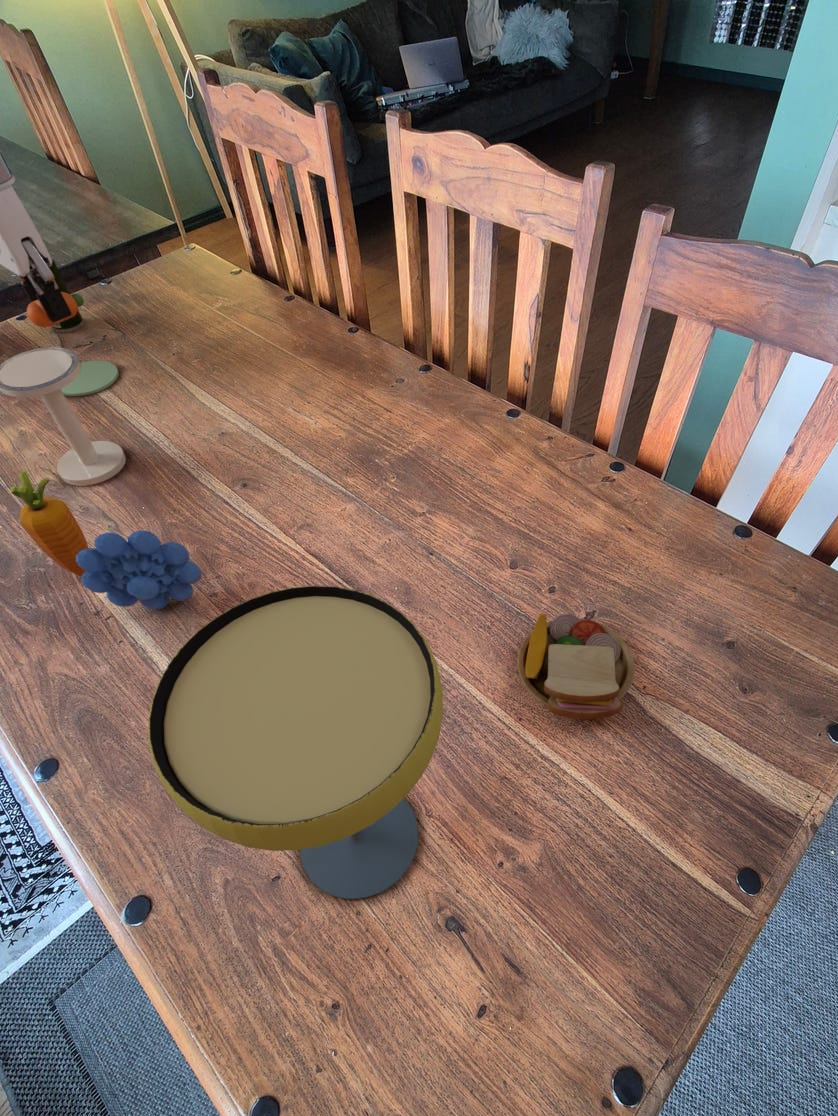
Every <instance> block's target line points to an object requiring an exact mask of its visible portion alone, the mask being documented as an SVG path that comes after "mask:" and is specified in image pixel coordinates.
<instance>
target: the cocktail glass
mask: <svg viewBox="0 0 838 1116" xmlns="http://www.w3.org/2000/svg"><path fill="white" fill-rule="evenodd" d="M443 695H444V694H443V685H442V680H441V676H440V671H439V667H438V663H437V660H436V659H435V656H434V654H433V651H432V650H431V647H430V645H429V643H428V641H427V639H426V638H425V636H424V635H423V634H422V632H421V631H420V629H419V628H418V627H417V626H416V624H415V623H414V622H413V621H411V620H410V618H408V617H407V616H406V615H405V614H404V613H403V612H402V611H401V610H399V609H397V608H396V607H395V606H393V605H392V604H390V603H389V602H387V601H385V600H383V599H380V598H379V597H376V596H374V595H372V594H369V593H366V592H363V591H360V590H357V589H354V588H347V587H342V586H335V585H334V586H333V585H305V586H296V587H289V588H284V589H279V590H273V591H270V592H267V593H265V594H261V595H257V596H255V597H251V598H250V599H247V600H245V601H243V602H241V603H239V604H236V605H234V606H232V607H230V608H229V609H226V610H225V611H224V612H222V613H220V614H219V615H217V616H215V617H213V618H212V619H211V620H210V621H209V622H207V623H206V624H205V625H203V626H202V627H201V628H200V629H198V630H197V631H196V632H195V633H194V634H193V635H192V636H191V637H190V638H189V639H188V640H187V641H186V642H185V643H184V644H183V645H182V646H181V647H180V649H178V651H177V652H176V653H175V655H174V656H173V657H172V658H171V660H170V661H169V663H168V665H167V666H166V668H165V670H164V671H163V673H162V674H161V677H160V679H159V680H158V683H157V685H156V687H155V691H154V694H153V696H152V699H151V703H150V708H149V715H148V719H147V721H148V722H147V723H148V724H147V725H148V726H147V727H148V728H147V729H148V746H149V751H150V755H151V759H152V763H153V766H154V768H155V771H156V773H157V775H158V777H159V779H160V781H161V783H162V785H163V787H164V789H165V791H166V792H167V793H168V794H169V796H170V797H171V798H172V799H173V801H174V802H175V803H176V805H177V806H178V808H179V809H180V810H181V811H183V813H184V814H186V815H187V816H188V817H189V818H190V819H192V820H193V821H194V822H195V823H196V824H198V825H199V826H200V827H201V828H203V829H204V830H206V831H208V832H210V833H212V834H214V835H215V836H217V837H219V838H220V839H223V840H225V841H228V842H231V843H234V844H237V845H240V846H243V847H246V848H249V849H250V848H251V849H255V850H256V849H257V850H264V851H270V852H280V851H281V852H283V851H299V853H300V860H301V864H302V866H303V869H304V871H305V873H306V876H308V878H309V879H310V881H311V882H312V883H313V884H314V885H315V886H316V887H317V888H318V889H319V890H321V891H323V892H324V893H326V894H328V895H330V896H332V897H335V898H339V899H344V900H361V899H366V898H370V897H373V896H377V895H378V894H381V893H382V892H385V891H387V890H388V889H390V888H391V887H392V886H393V885H394V884H395V885H396V883H398V881H399V880H400V879H401V878H402V877H404V875H405V873H406V872H407V871H408V869H409V868H410V866H411V864H412V863H413V860H414V858H415V855H416V852H417V849H418V844H419V843H418V842H419V826H418V820H417V818H416V815H415V812H414V810H413V808H412V807H411V806H410V803H408V801H407V800H406V799H405V798H406V797H407V796H408V795H409V794H410V792H411V791H412V790H413V789H414V787H415V786H416V784H418V782H419V781H420V780H421V778H422V777H423V775H424V773H425V771H426V770H427V767H428V766H429V764H430V762H431V760H432V758H433V755H434V753H435V750H436V747H437V744H438V741H439V738H440V736H441V729H442V724H443V723H442V722H443V715H444V697H443Z"/></svg>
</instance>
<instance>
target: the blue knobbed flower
mask: <svg viewBox="0 0 838 1116" xmlns="http://www.w3.org/2000/svg"><path fill="white" fill-rule="evenodd" d="M189 560H190V552H189V551H188V549H187V548H186V546H184V545H183V544H181V543H179V542H176V541H175V542H174V541H168V542H165V543H162V542H161V540H160V539H159V537H158V536H157V535H156V534H154V533H153V532H151V531H148V530H142V529H140V530H136V531H134V532H131V533H130V534H129V535H128V537H127V539H126V538H125V537H123V536H122V535H121V534H119V533H114V532H105V533H102V534H99V535H97V537H95V539H94V547H88V548H87V549H84V550H82V551H80V552H79V553H78V554H77V555H76V562H77V564H78V565H79V566H80V567H81V568H82V569H84V570H85V571H86V572H85V573H84V574H83V575H82V576H80V577H81V583H82V585H83V586H84V587H85V588H86V589H87V590H89V591H91V592H93V593H97V594H105V593H106V598H107V599H108V600H109V602H110V603H112V604H114V605H116V607H121V608H129V607H132V606H134V605H136V604H137V602H138V601H139V603H140V604H141V606H143V607H145V608H146V609H149V610H153V611H157V610H159V611H160V610H162V609H164V608H166V607H167V606H168V605H169V604H170V599H171V600H173V601H177V602H182V601H186V600H188V599H190V598H191V597H192V596H193V594H194V587H193V586H192V584H195V583H197V582H199V581H200V579H201V578H202V570H201V569H200V567H199V566H198V565H197V564H196V563H194V562H193V561H189Z"/></svg>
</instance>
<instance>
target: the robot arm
mask: <svg viewBox="0 0 838 1116" xmlns="http://www.w3.org/2000/svg"><path fill="white" fill-rule="evenodd" d="M14 183H16V177H15V176H14V174H13V171H12V170H11V167H10V166H9V163H8V161H7V160H6V158H5V156H4V154H3V152H2V150H1V149H0V266H2V267H4V268H5V269H7V270H8V271H10V272H11V273H13V274H15V276H16V278H17V279H18V282H19V283H20V284H21V285H22V286H21V287H22V288H23V290H24V293H25V294H26V295H27V297H28V299H29V301H30V303H31V302H33V301H36V300H39V301H40V303H41V305H42V307H43V309H44V310H45V312H46V314H47V316H48V318H49V319H50V321H52V322H56V321H59V320H61V319H64V318H66V317H68V316H71V314H72V313H71V311H70V309H69V307H68V305H67V303H66V301H65V299H64V297H63V296H62V294H61V292H60V290H59V288H58V285H57V284H56V282H55V280H54V279H55V277H54V275H53V273H52V272H51V270H50V269H49V267H51V265H52V260H51V257H52V256H51V254H50V252H49V251H48V248H47V246H46V245H45V242H44V240H43V238H42V237H41V235H40V233H39V231H38V229H37V228H36V225H35V224H34V222H33V220H32V219H31V216H30V215H29V213H28V211H27V209H26V208H25V206H24V204H23V202H22V201H21V199H20V198H19V196H18V194H17V192H16V191H15V189H14V187H13V184H14ZM50 256H51V257H50ZM39 274H40V275H39Z"/></svg>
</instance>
